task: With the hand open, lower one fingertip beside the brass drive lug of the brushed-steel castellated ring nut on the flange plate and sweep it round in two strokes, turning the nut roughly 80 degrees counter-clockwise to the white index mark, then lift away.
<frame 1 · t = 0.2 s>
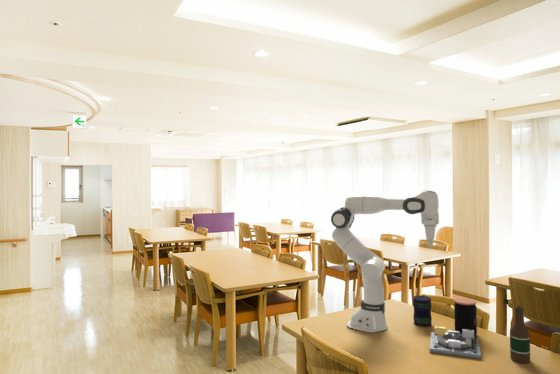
hand: (430, 246, 207), 47 cm above the table, fingers open, 8 cm apart
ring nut: (454, 335, 191), point 6 cm above the table, hinge at 0.0°
storage jar: (422, 324, 223), on the table
beer bottle: (520, 360, 175), on the table
coffee jar: (465, 334, 206), on the table
flange plate: (454, 346, 191), on the table
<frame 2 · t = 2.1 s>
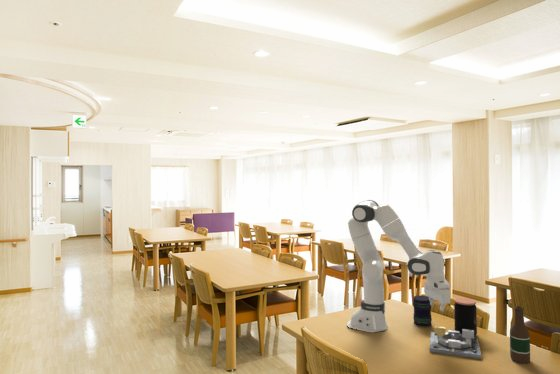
hand: (437, 307, 202), 16 cm above the table, fingers open, 8 cm apart
nothing on the table moved.
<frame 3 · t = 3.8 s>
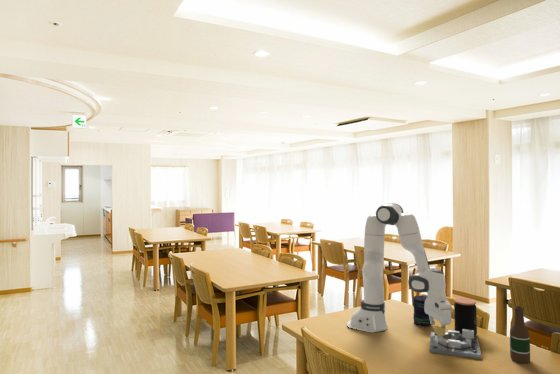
hand: (437, 327, 199), 6 cm above the table, fingers open, 8 cm apart
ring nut: (454, 335, 191), point 6 cm above the table, hinge at 0.0°, touching gripper
everything else where it was.
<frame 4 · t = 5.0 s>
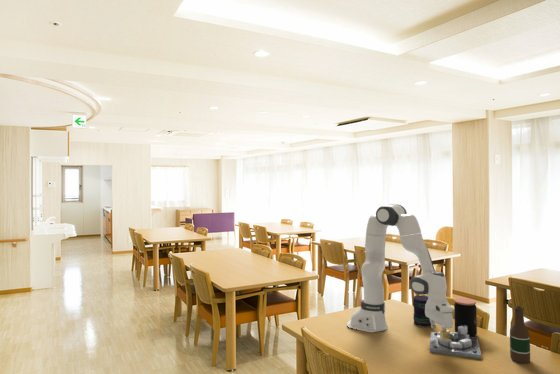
hand: (438, 331, 194), 6 cm above the table, fingers open, 7 cm apart
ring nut: (454, 335, 191), point 6 cm above the table, hinge at 49.9°, touching gripper
everything else where it was.
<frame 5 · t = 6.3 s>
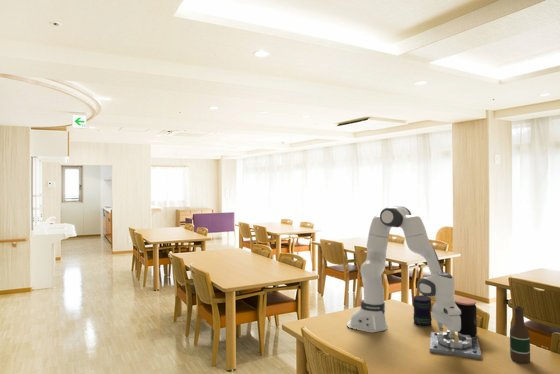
hand: (445, 334, 191), 6 cm above the table, fingers open, 8 cm apart
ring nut: (454, 335, 191), point 6 cm above the table, hinge at 95.8°, touching gripper
everything else where it was.
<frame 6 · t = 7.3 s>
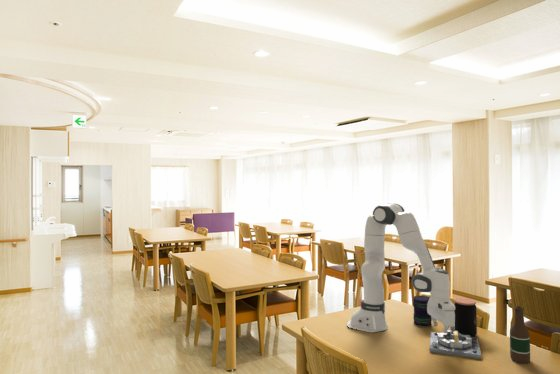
hand: (440, 329, 193), 8 cm above the table, fingers open, 8 cm apart
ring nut: (454, 335, 191), point 6 cm above the table, hinge at 95.8°
everything else where it was.
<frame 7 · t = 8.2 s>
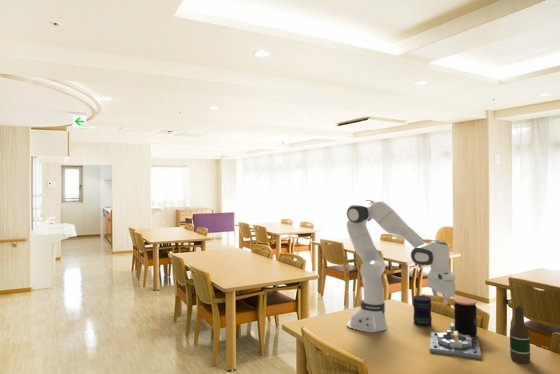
hand: (440, 300, 194), 22 cm above the table, fingers open, 8 cm apart
nothing on the table moved.
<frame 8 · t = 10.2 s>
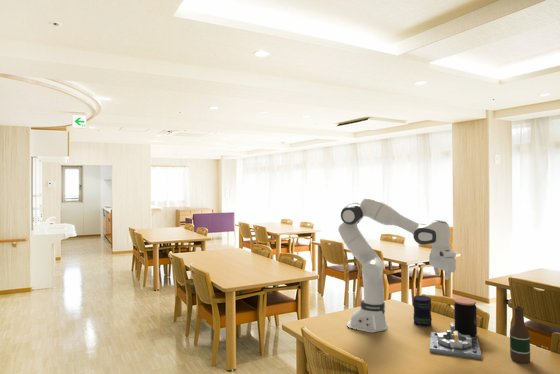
hand: (441, 277, 204), 31 cm above the table, fingers open, 8 cm apart
nothing on the table moved.
at the end: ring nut at +96° (first picture: +0°) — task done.
